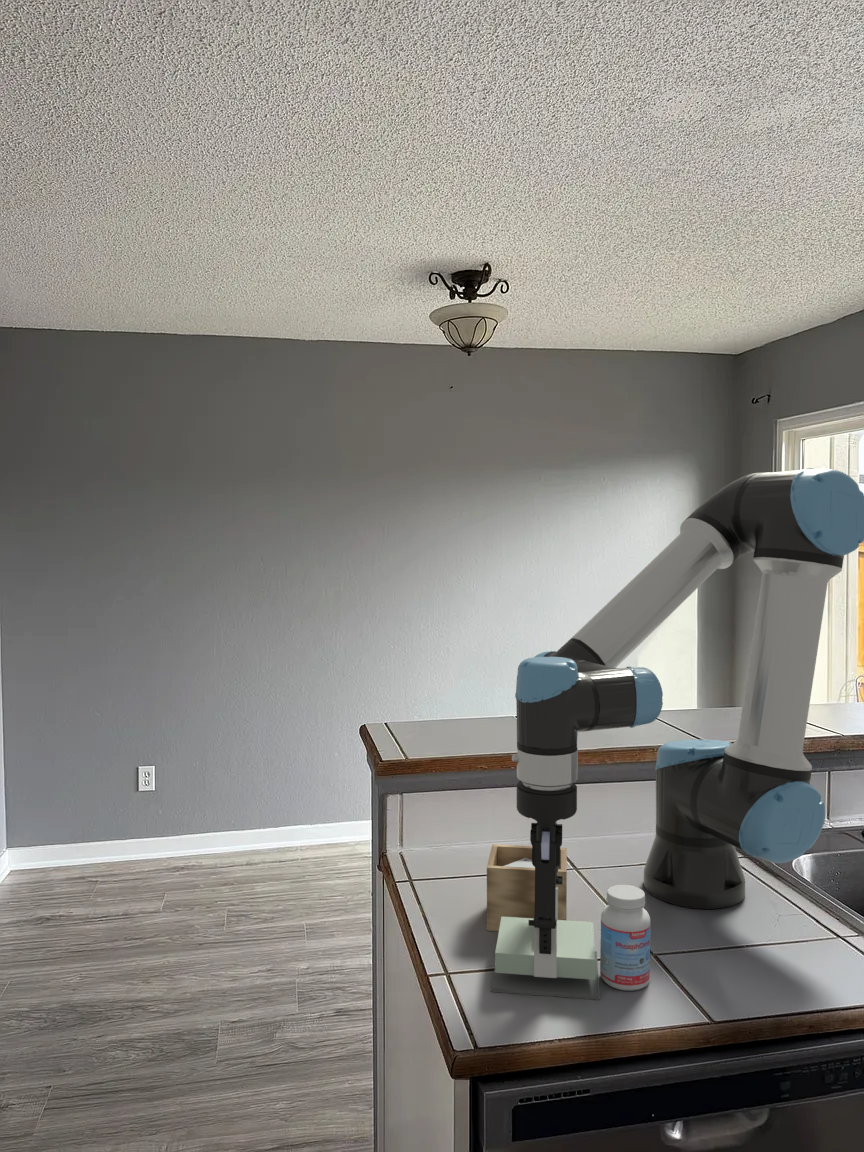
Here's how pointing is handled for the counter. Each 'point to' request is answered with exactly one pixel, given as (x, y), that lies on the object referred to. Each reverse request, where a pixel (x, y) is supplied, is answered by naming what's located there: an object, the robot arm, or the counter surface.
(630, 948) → the pill bottle
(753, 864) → the counter surface
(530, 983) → the mat
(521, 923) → the lid
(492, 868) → the box
